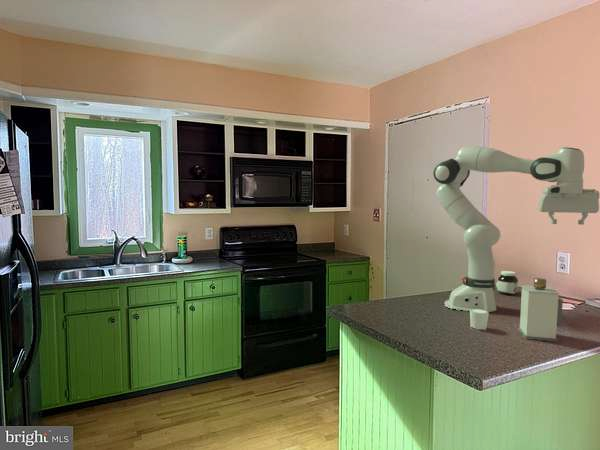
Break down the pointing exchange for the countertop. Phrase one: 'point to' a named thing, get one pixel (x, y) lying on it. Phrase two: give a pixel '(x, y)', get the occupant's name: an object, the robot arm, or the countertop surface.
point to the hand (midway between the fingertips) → (567, 224)
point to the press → (540, 313)
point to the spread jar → (507, 283)
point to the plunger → (539, 283)
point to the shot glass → (478, 318)
